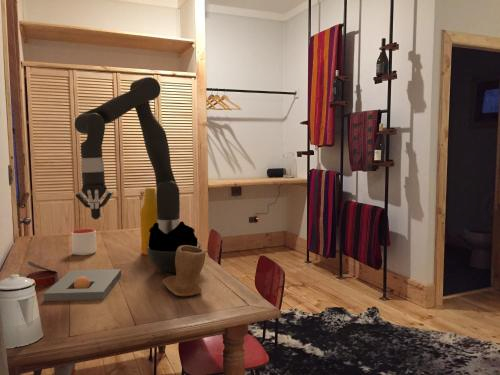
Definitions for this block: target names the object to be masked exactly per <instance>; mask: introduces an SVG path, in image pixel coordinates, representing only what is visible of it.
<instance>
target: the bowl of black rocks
mask: <svg viewBox="0 0 500 375" xmlns="http://www.w3.org/2000/svg"><path fill="white" fill-rule="evenodd" d="M149 232H150V236H149V245H148V246H147V252H148V255H147V256H148V258H149V260H150V261H151V263H152V264H153V265H154V266H155V267H156V268H158V269H159V270H161V271H164V272H168V273H176V267H175V256H176V250H177V248H178V247H180V246H183V245H189V246H194V247H198V248H201V243H199V241H198V238H197V236H196V234H195V229H194V228H193V227H192V226H189V225H187V224H185V222H184V221H181V220H180V223H179V225H177V227H176V228H175V229H173V230H172V231H170V232H169V233H168V234H165V233H164V232H163V231H161V230H160V229H159V223H157V222H156V223H154V224H153V226H152V227H151V228H150V230H149Z"/></svg>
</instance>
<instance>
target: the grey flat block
mask: <svg viewBox="0 0 500 375" xmlns="http://www.w3.org/2000/svg"><path fill="white" fill-rule="evenodd" d="M79 277H87V278H88V279H89V281H90V287H89V288H88V289H75V288H74V282H75V280H76V279H77V278H79ZM121 277H122V269H121V268H119V269H117V268H115V269H113V268H112V269H82V270H81V269H80V270H78V269H77V270H70V271H68V272H67V273H66V274H65V275H64V276H62V277H61V278H60V279H58V282H56V283H54V284H52V286H50V287H49V289H47V290H46V291H45V292H44V293H43V301H44V302H64V301H67V302H68V301H69V302H70V301H99V300H100V301H101V300H103V301H104V300H105V299H106V297H107V296H108V295H109V293H110V292H111V290H112V289H113V288H114V286H115V285H116V284H117V282H118V281H119V279H120V278H121Z"/></svg>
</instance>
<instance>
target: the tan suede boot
mask: <svg viewBox="0 0 500 375" xmlns="http://www.w3.org/2000/svg"><path fill="white" fill-rule="evenodd" d="M205 263H206V252H205V249H203V248H201V247H200V248H198V247H194V246H189V245H183V246H180V247H178V248H177V250H176V256H175V267H176V272H175V274H176V275H170V276H168V277H165V278H164V279H163V280H162V284H163V285H164V286H165V287H166V288H167V289H168V290H169V291H170V292H171V293H172V294H174V295H175V296H178V297H188V296H189V297H190V296H195V295H198V294H200V293H202V291H203V290H202V287H201V286H200V284H199V282H198V281H199V277H200V276H201V275H200V274H201V273H202V270H203V268H204V265H205Z"/></svg>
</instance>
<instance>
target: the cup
mask: <svg viewBox="0 0 500 375" xmlns="http://www.w3.org/2000/svg"><path fill="white" fill-rule="evenodd" d="M71 249H72V250H71V251H72V254H73V255H76V256H88V255H89V256H90V255H92V254H95V253H96V252H97V232H96V229H93V228H84V229H83V228H82V229H75V230H73V231H71Z"/></svg>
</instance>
